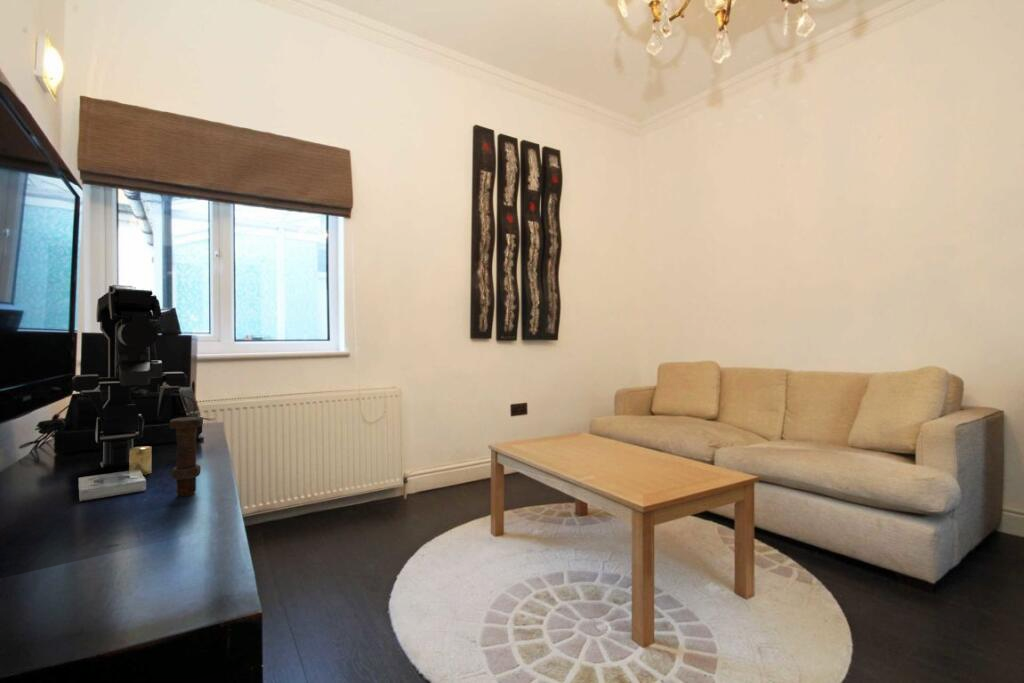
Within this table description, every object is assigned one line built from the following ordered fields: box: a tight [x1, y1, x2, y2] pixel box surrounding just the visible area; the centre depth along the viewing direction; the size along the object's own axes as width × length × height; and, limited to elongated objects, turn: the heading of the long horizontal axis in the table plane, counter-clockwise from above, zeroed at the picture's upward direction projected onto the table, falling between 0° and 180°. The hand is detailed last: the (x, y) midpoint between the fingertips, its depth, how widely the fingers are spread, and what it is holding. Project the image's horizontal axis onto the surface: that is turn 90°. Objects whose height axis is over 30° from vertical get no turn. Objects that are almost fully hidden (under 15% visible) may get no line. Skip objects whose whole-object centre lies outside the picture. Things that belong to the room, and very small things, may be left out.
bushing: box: [128, 445, 152, 476], centre depth 109 cm, size 4×4×6 cm
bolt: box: [168, 416, 204, 497], centre depth 94 cm, size 6×5×15 cm
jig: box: [78, 469, 147, 502], centre depth 98 cm, size 12×10×2 cm
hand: (132, 421), depth 100 cm, fingers open, 9 cm apart
